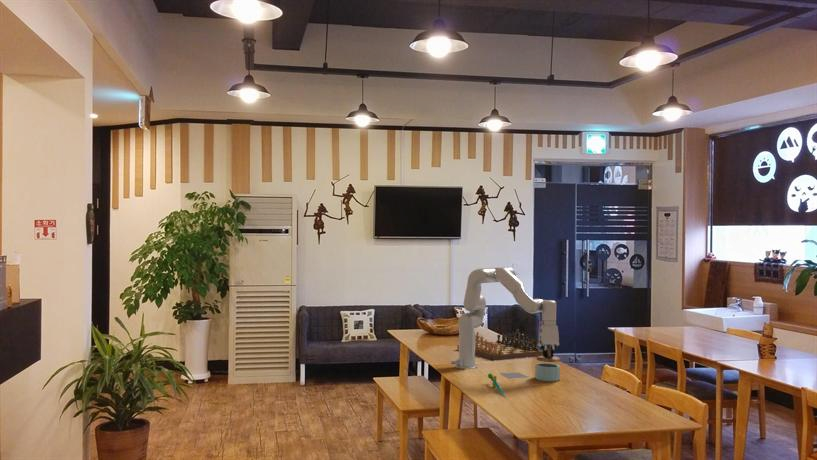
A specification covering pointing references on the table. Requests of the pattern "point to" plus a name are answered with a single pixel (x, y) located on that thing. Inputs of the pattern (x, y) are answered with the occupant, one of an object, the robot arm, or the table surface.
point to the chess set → (506, 347)
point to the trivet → (513, 375)
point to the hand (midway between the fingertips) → (548, 356)
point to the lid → (548, 357)
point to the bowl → (547, 372)
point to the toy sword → (495, 382)
